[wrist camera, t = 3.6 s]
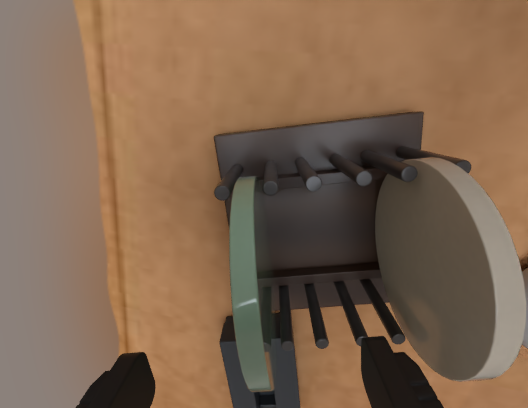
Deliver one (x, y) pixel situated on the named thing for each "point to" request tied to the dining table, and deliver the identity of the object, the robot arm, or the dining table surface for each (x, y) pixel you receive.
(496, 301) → the cream plate
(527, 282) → the donut
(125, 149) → the dining table surface
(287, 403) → the plate stand
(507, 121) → the dining table surface
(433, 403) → the robot arm
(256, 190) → the sage plate
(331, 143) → the dish rack
